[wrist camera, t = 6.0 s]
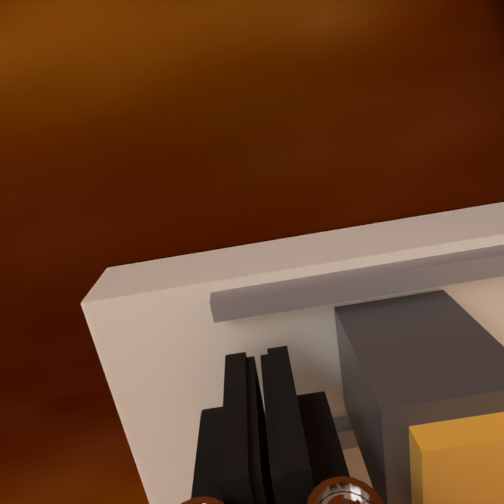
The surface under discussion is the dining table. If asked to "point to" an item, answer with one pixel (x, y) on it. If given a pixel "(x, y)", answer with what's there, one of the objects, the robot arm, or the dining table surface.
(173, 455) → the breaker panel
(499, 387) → the tagged breaker
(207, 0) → the dining table surface
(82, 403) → the dining table surface
